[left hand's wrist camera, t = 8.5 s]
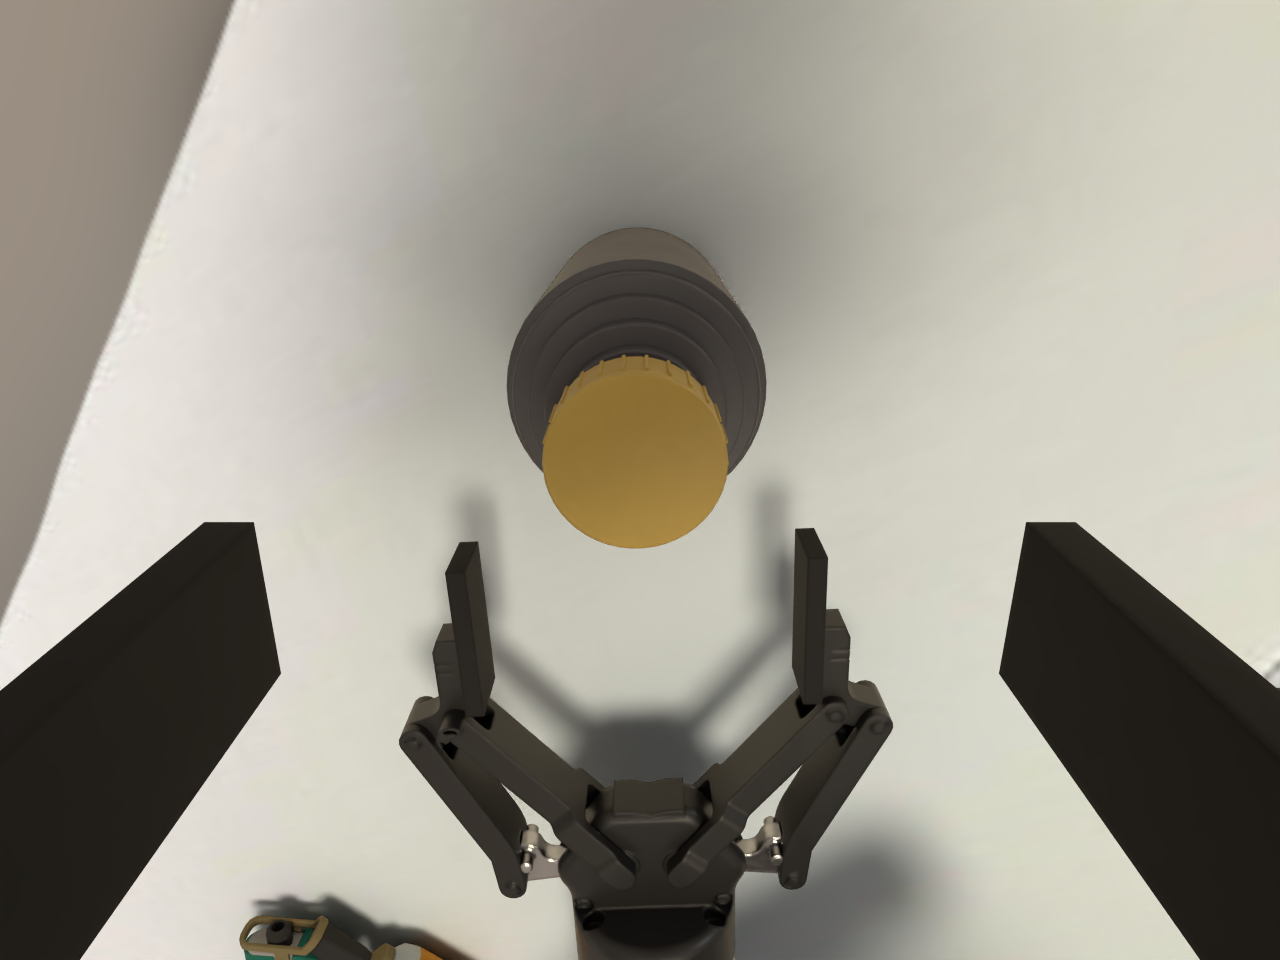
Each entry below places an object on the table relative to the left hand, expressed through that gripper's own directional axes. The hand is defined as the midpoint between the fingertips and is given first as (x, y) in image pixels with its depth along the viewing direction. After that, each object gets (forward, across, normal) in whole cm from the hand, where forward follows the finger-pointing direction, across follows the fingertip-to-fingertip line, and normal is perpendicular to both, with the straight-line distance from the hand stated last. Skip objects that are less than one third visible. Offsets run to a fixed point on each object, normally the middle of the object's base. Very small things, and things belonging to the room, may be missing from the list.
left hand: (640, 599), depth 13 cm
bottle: (+24, 0, 0) cm, 24 cm away
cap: (+6, 0, 0) cm, 6 cm away
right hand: (+18, 0, +8) cm, 19 cm away
